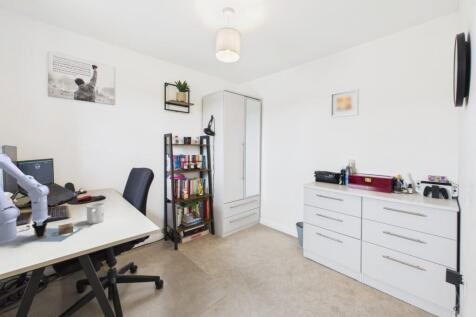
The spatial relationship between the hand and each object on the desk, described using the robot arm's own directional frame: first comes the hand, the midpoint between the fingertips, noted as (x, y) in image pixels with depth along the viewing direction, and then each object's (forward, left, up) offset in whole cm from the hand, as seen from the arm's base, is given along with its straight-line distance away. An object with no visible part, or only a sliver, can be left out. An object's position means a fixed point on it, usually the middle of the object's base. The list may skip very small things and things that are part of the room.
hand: (40, 234), depth 106 cm
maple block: (0, 0, -1) cm, 1 cm away
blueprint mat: (+4, +3, -2) cm, 5 cm away
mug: (+15, +20, -2) cm, 25 cm away
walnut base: (+8, +6, -1) cm, 10 cm away
